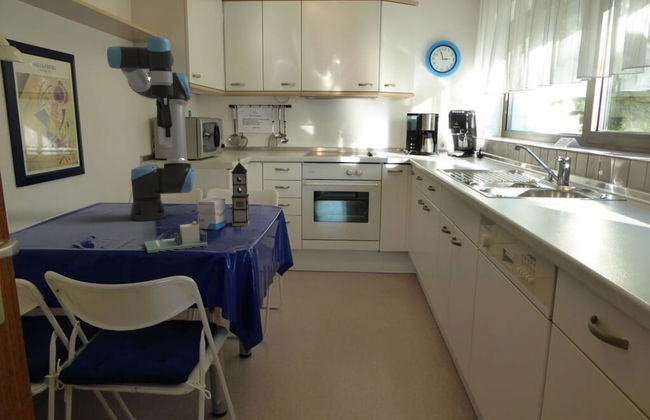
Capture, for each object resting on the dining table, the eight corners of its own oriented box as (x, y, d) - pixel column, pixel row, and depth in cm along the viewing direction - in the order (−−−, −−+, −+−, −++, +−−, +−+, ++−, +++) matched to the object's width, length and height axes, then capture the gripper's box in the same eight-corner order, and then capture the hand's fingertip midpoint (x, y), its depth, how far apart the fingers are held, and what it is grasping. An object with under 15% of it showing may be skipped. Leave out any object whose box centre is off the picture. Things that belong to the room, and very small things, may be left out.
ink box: (227, 225, 193) (225, 198, 190) (216, 230, 185) (214, 201, 182) (209, 223, 196) (208, 196, 193) (197, 228, 188) (196, 200, 185)
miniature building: (248, 225, 192) (246, 154, 186) (231, 226, 192) (228, 154, 185) (249, 221, 199) (247, 152, 193) (233, 222, 199) (230, 152, 192)
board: (144, 244, 165) (143, 233, 164) (200, 237, 174) (200, 227, 173) (147, 253, 154) (147, 241, 153) (207, 245, 163) (207, 235, 162)
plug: (180, 241, 165) (179, 222, 164) (197, 239, 168) (196, 220, 166) (182, 243, 162) (181, 224, 160) (199, 241, 164) (198, 223, 163)
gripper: (146, 86, 169) (150, 143, 174) (154, 82, 148) (159, 148, 152) (167, 86, 173) (171, 143, 177) (178, 83, 151) (182, 147, 155)
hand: (165, 145), depth 165 cm, fingers open, 13 cm apart
